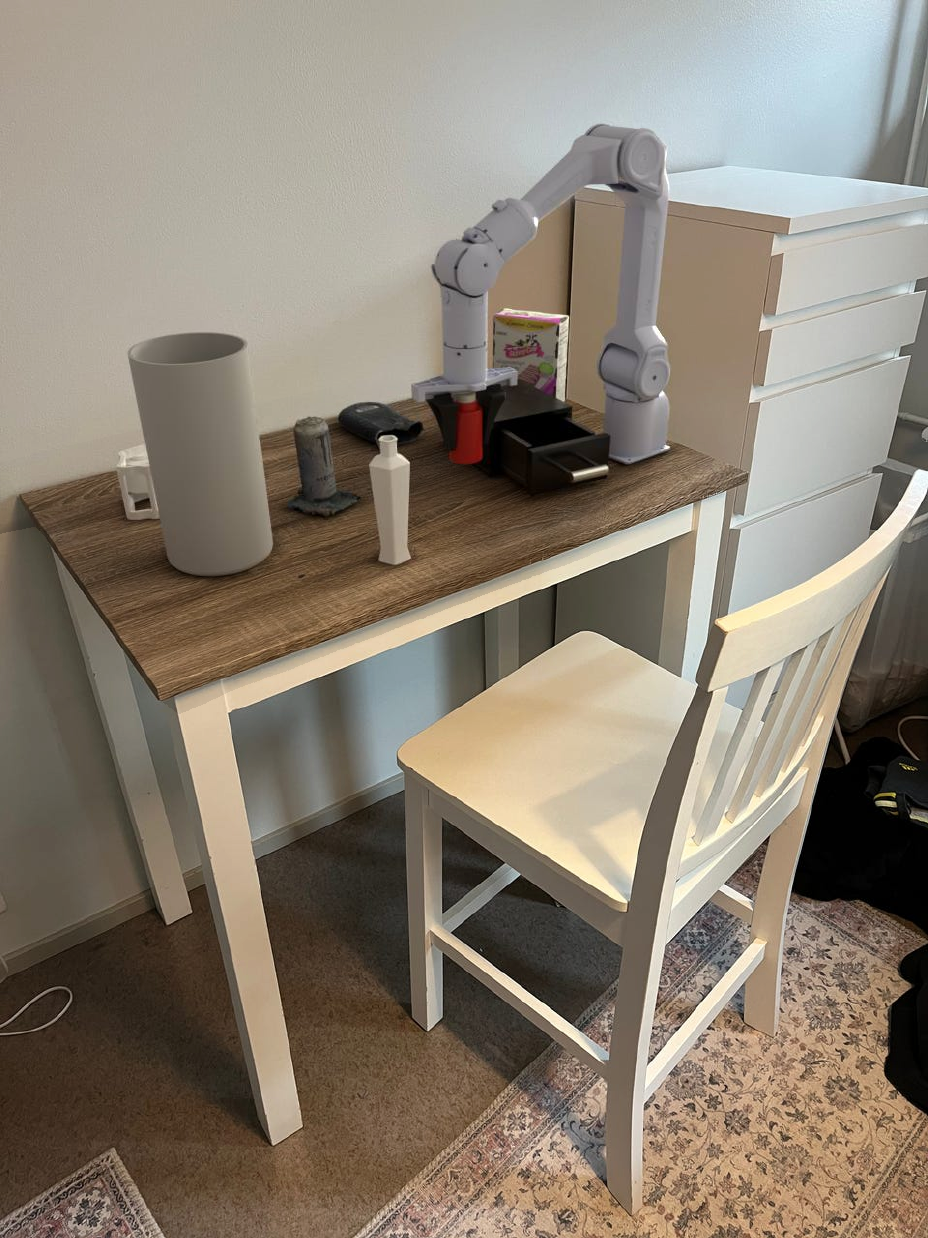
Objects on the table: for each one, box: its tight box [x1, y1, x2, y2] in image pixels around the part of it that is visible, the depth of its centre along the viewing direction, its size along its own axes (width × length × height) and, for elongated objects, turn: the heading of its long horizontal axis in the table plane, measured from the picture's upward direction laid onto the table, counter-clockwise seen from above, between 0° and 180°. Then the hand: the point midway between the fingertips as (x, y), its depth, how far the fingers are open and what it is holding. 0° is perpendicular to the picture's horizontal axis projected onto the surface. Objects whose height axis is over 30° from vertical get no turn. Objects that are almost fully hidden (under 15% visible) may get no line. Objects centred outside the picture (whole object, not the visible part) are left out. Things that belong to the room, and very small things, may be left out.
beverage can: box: [287, 415, 363, 518], centre depth 123 cm, size 9×8×12 cm
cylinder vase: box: [127, 331, 274, 577], centre depth 108 cm, size 12×12×25 cm
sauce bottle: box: [449, 391, 482, 465], centre depth 125 cm, size 4×4×9 cm
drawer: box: [494, 414, 610, 497], centre depth 131 cm, size 18×12×6 cm
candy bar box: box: [492, 308, 570, 403], centre depth 151 cm, size 11×5×16 cm, turn 66°
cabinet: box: [442, 379, 573, 478], centre depth 140 cm, size 15×14×8 cm
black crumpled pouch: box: [337, 401, 425, 450], centre depth 149 cm, size 9×6×15 cm
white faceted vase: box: [368, 435, 412, 566], centre depth 110 cm, size 5×4×15 cm
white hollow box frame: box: [115, 443, 160, 521], centre depth 128 cm, size 20×11×7 cm, turn 123°
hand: (465, 444), depth 127 cm, fingers closed on sauce bottle, 4 cm apart
